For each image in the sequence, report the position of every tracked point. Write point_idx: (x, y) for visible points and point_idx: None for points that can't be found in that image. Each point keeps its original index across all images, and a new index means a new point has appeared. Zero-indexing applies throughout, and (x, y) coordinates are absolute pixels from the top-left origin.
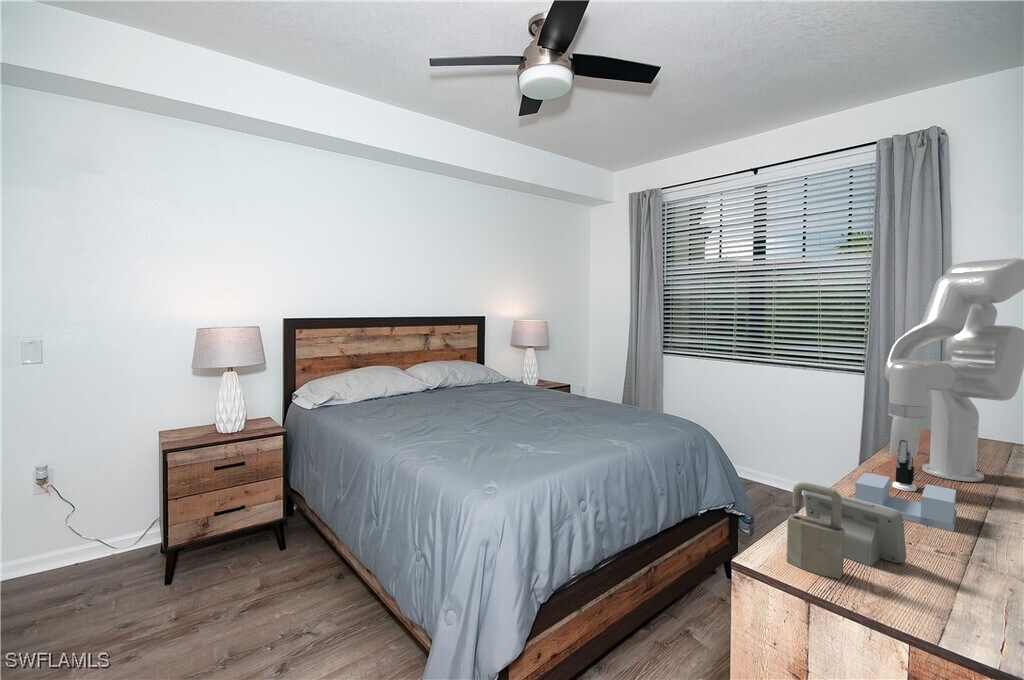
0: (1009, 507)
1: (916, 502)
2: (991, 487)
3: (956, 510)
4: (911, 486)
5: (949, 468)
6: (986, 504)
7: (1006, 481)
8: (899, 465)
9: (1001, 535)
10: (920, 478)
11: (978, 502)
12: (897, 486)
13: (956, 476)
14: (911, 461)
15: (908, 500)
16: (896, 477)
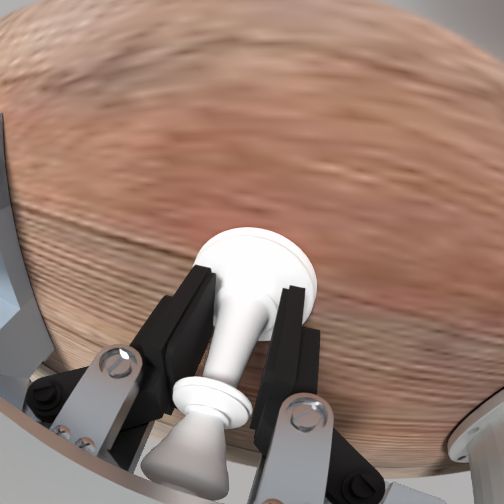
0: (240, 460)
1: (8, 287)
2: (412, 462)
3: (42, 360)
4: (215, 322)
5: (488, 445)
6: (227, 441)
7: (465, 466)
8: (80, 368)
9: (39, 375)
10: (473, 357)
11: (233, 435)
12: (199, 255)
13: (460, 439)
14: (135, 461)
15: (2, 268)
16: (185, 284)
